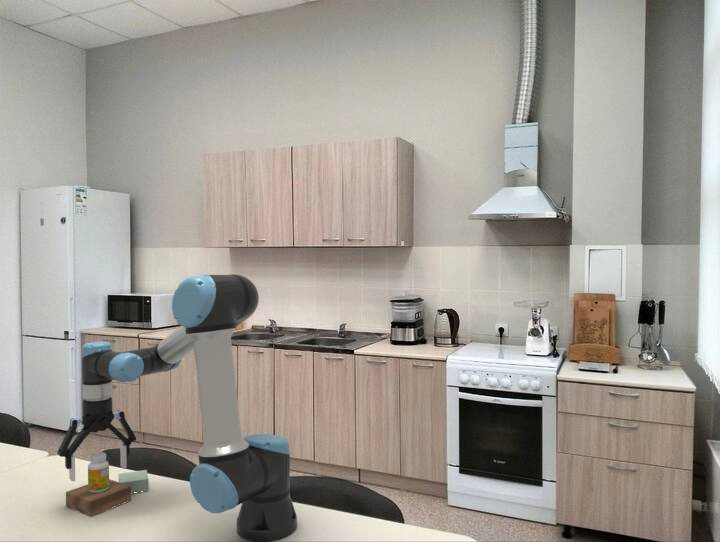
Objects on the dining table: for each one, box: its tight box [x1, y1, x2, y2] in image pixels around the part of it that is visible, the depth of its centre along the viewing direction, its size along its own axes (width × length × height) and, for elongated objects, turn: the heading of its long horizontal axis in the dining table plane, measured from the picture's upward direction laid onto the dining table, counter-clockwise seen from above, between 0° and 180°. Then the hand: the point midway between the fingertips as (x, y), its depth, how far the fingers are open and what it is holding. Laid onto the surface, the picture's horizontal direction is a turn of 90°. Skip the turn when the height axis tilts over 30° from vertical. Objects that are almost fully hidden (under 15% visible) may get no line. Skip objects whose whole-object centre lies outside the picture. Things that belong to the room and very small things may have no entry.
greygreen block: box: [118, 469, 149, 493], centre depth 169 cm, size 8×8×4 cm
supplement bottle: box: [87, 452, 110, 493], centre depth 158 cm, size 5×5×10 cm
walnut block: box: [65, 478, 132, 518], centre depth 158 cm, size 12×12×4 cm
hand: (98, 473), depth 158 cm, fingers open, 13 cm apart
